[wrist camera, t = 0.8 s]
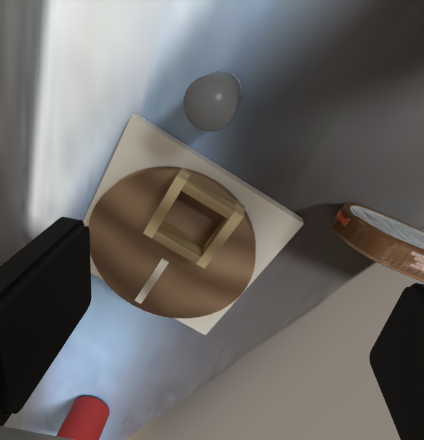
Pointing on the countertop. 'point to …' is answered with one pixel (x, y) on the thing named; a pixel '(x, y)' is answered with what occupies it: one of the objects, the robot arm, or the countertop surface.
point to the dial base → (191, 159)
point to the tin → (381, 239)
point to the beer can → (85, 419)
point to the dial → (173, 242)
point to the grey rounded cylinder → (212, 100)
